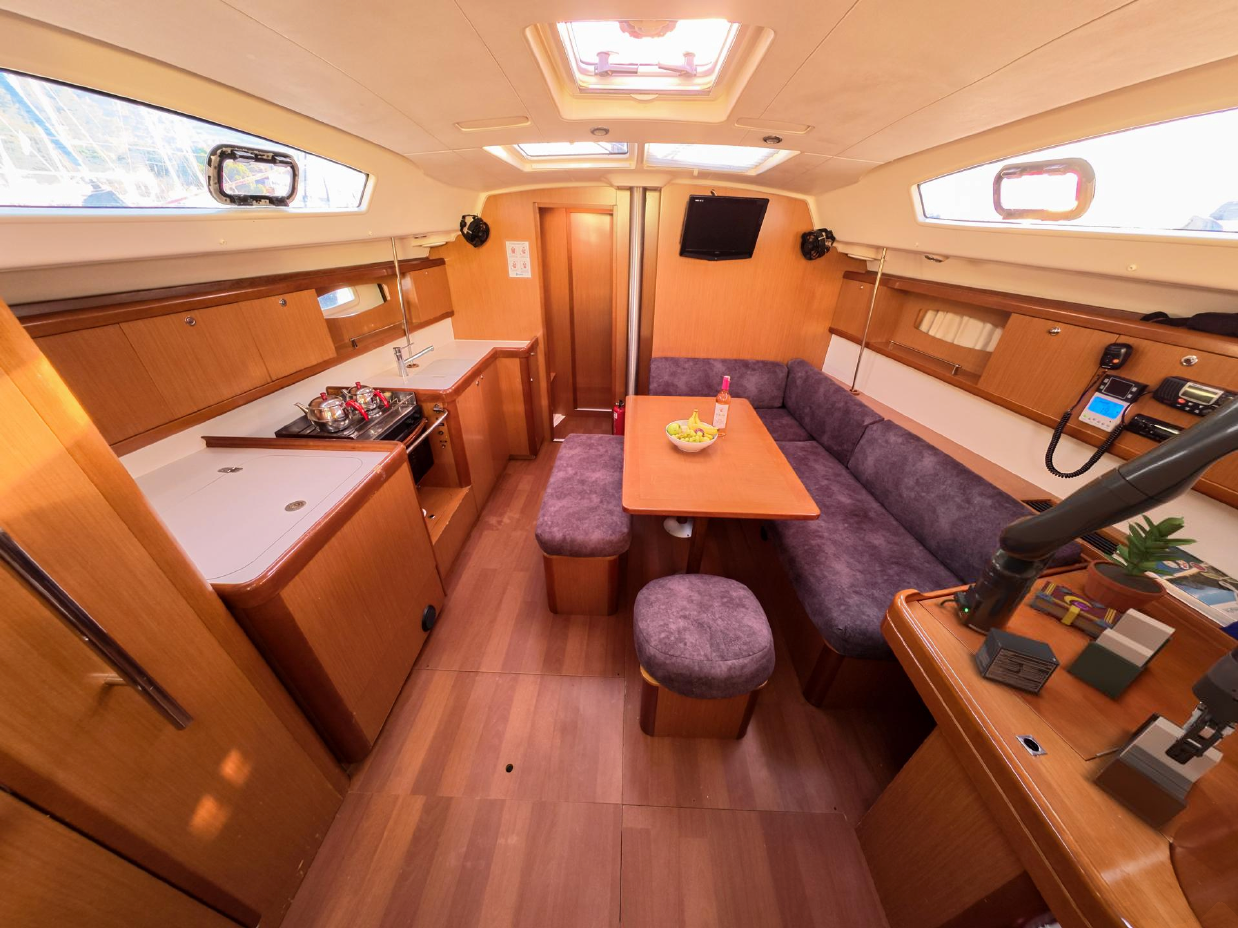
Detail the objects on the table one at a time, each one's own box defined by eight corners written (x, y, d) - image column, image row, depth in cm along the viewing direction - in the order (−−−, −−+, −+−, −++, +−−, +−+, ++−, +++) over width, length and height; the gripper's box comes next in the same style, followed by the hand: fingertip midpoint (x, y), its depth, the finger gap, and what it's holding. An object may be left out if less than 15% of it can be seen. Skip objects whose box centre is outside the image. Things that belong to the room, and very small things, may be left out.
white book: (1171, 799, 72) (1218, 762, 66) (1116, 760, 77) (1155, 723, 72) (1177, 790, 73) (1223, 754, 67) (1122, 752, 78) (1160, 716, 73)
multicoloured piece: (1114, 699, 89) (1150, 661, 83) (1067, 670, 96) (1097, 632, 90) (1145, 666, 97) (1180, 629, 91) (1100, 641, 104) (1129, 604, 98)
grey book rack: (1156, 830, 68) (1187, 806, 65) (1092, 781, 75) (1117, 757, 71) (1192, 774, 76) (1221, 750, 73) (1131, 734, 83) (1155, 711, 79)
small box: (1026, 672, 95) (1049, 642, 90) (1038, 696, 90) (1063, 665, 85) (972, 655, 99) (991, 625, 94) (980, 677, 93) (1001, 646, 89)
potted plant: (1122, 588, 122) (1187, 505, 108) (1161, 625, 109) (1241, 536, 95) (1060, 575, 126) (1115, 494, 113) (1091, 609, 113) (1157, 523, 100)
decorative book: (1039, 590, 120) (1048, 577, 118) (1118, 627, 108) (1129, 613, 106) (1028, 606, 114) (1037, 593, 112) (1110, 646, 102) (1122, 633, 100)
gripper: (1220, 653, 69) (1162, 710, 77) (1196, 686, 64) (1135, 745, 71) (1298, 690, 63) (1227, 748, 71) (1279, 730, 58) (1204, 789, 65)
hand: (1181, 746), depth 71 cm, fingers open, 8 cm apart
